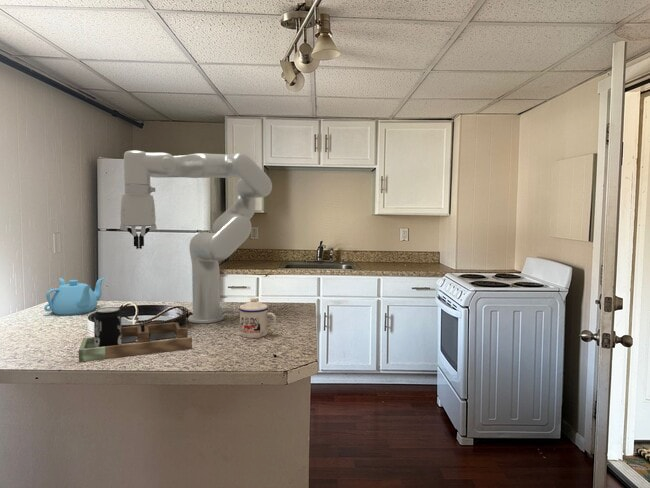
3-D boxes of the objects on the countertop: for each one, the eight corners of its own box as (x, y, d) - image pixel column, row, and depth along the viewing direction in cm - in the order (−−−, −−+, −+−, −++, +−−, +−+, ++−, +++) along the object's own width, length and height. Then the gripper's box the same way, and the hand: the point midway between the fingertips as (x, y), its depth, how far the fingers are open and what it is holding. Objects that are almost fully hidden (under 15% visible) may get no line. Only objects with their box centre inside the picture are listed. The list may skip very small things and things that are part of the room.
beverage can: (115, 355, 113) (115, 311, 112) (90, 356, 112) (89, 311, 112) (125, 348, 120) (124, 306, 119) (100, 348, 119) (100, 306, 118)
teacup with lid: (234, 337, 131) (234, 300, 130) (245, 329, 140) (245, 295, 139) (271, 340, 128) (271, 302, 128) (280, 332, 137) (280, 296, 136)
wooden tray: (184, 330, 138) (184, 321, 138) (192, 348, 120) (191, 338, 120) (86, 340, 126) (86, 330, 126) (79, 361, 108) (78, 350, 108)
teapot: (106, 305, 174) (105, 276, 174) (91, 316, 156) (90, 283, 155) (60, 306, 171) (59, 277, 170) (39, 318, 153) (38, 284, 152)
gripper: (162, 192, 140) (163, 247, 141) (111, 190, 133) (113, 248, 135) (163, 190, 133) (164, 248, 134) (110, 189, 126) (112, 250, 128)
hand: (138, 248), depth 134 cm, fingers closed
